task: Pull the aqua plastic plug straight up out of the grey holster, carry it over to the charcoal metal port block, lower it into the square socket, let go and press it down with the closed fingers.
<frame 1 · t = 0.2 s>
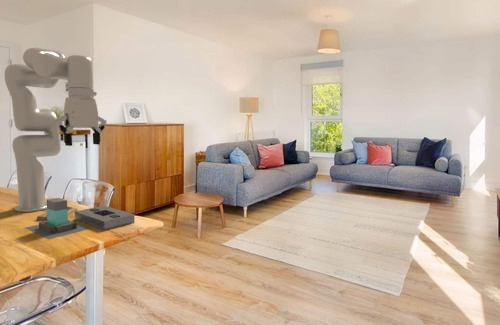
hand: (83, 144, 115), 30 cm above the table, tool pointing down, fingers open, 9 cm apart
port block: (104, 223, 127), on the table
holster: (58, 230, 118), on the table
plug: (58, 228, 118), point 1 cm above the table, touching holster
computer: (58, 218, 134), on the table
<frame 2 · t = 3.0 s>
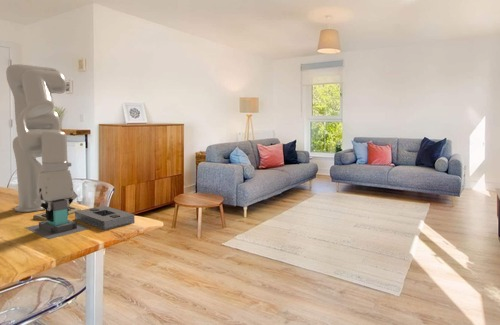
hand: (57, 218, 117), 4 cm above the table, tool pointing down, fingers closed on plug, 4 cm apart
plug: (58, 228, 118), point 1 cm above the table, touching gripper, holster
when the fingers open (5 cm above the table, at t = 9.4 s): plug drops 1 cm, resting in port block.
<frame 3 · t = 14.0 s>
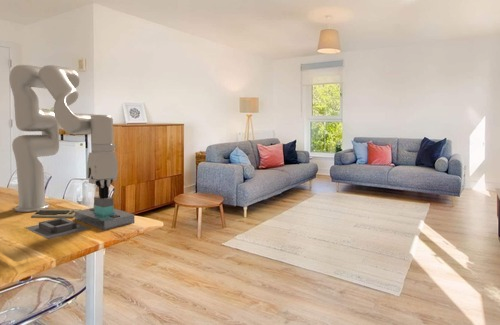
hand: (103, 197, 126), 10 cm above the table, tool pointing down, fingers closed
plug: (104, 223, 127), resting in port block, touching gripper
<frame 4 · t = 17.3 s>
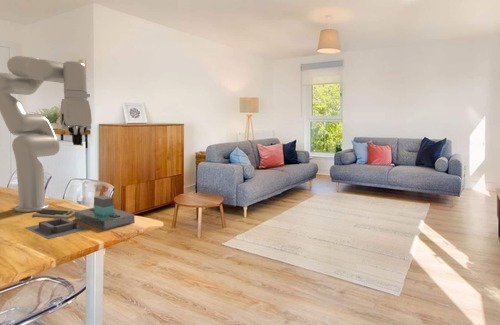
hand: (77, 144, 128), 29 cm above the table, tool pointing down, fingers closed
plug: (104, 223, 127), resting in port block
at the end: plug 0.1 cm off-centre on the port block, point 0.0 cm above the port block's base; plug tilted 0°; the gripper is holding nothing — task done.
